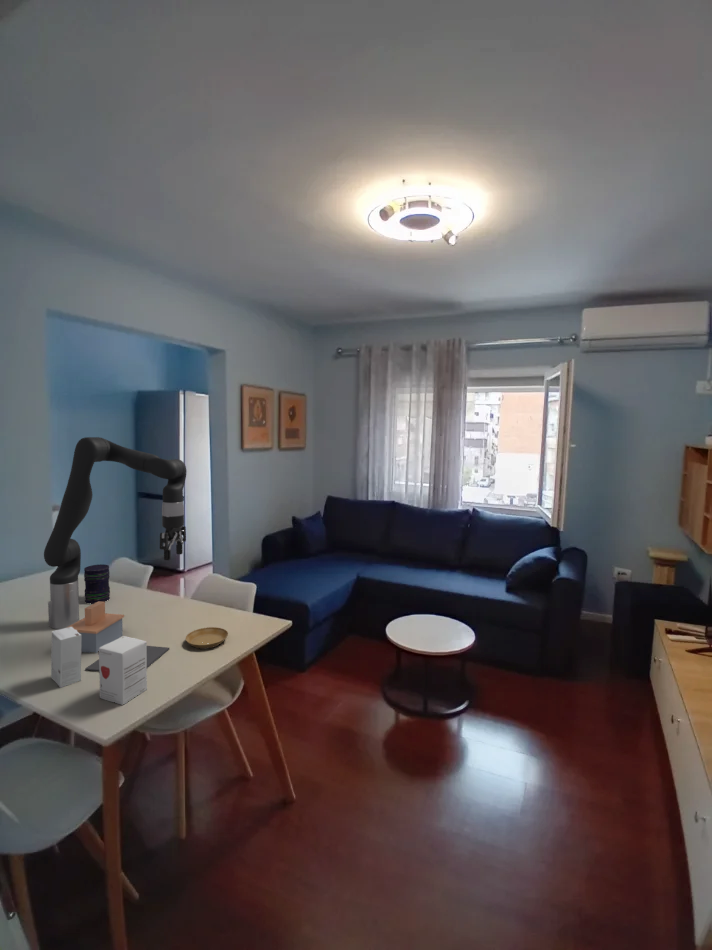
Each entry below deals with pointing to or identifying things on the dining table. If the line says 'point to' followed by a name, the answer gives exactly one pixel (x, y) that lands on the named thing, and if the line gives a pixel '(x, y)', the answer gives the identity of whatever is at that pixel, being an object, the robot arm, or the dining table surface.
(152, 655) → the black rubber mat
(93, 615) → the peach handled lid
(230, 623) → the dining table surface
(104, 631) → the slate storage box
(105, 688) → the supplement box
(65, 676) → the skincare box
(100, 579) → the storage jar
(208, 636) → the plant saucer
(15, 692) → the dining table surface
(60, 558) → the robot arm
